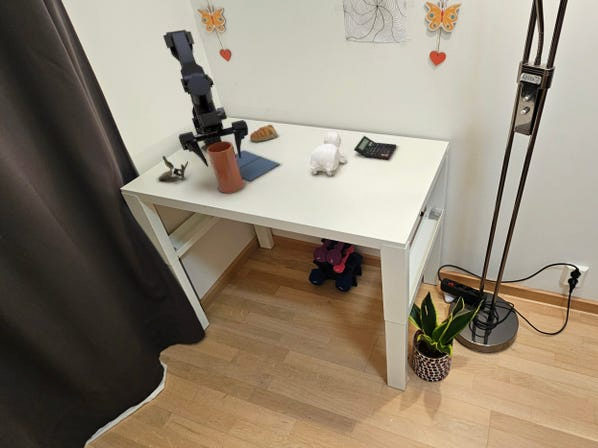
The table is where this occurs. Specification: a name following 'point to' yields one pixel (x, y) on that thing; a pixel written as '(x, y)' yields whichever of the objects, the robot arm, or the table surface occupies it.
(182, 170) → the eagle figurine
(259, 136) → the pastry
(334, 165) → the white lumpy rounded figurine
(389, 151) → the calculator
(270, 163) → the napkin
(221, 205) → the table surface
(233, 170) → the pencil cup
